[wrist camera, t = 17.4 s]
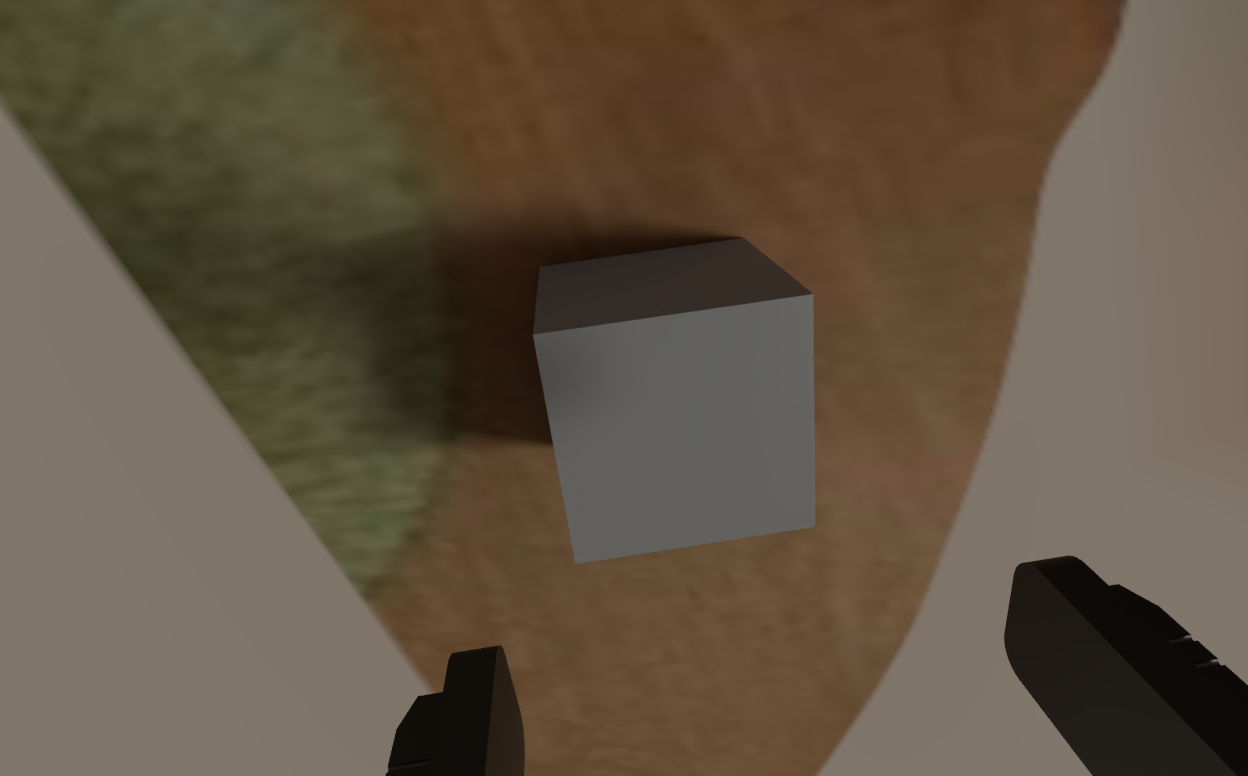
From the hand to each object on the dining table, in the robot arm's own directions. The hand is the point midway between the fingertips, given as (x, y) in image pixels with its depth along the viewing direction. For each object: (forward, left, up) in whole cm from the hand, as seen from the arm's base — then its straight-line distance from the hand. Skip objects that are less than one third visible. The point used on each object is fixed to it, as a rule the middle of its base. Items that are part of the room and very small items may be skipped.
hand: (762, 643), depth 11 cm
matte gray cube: (0, 0, -14) cm, 14 cm away
